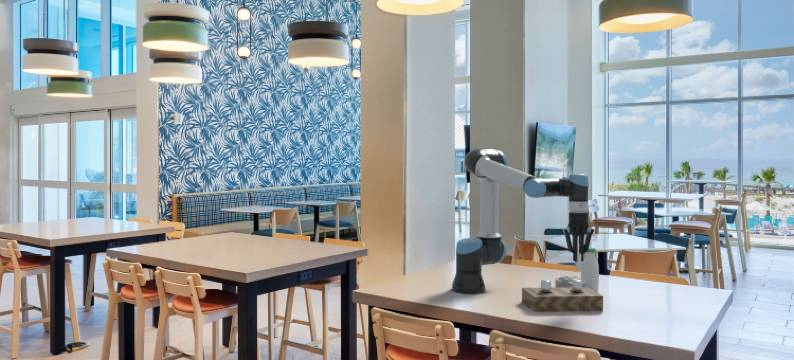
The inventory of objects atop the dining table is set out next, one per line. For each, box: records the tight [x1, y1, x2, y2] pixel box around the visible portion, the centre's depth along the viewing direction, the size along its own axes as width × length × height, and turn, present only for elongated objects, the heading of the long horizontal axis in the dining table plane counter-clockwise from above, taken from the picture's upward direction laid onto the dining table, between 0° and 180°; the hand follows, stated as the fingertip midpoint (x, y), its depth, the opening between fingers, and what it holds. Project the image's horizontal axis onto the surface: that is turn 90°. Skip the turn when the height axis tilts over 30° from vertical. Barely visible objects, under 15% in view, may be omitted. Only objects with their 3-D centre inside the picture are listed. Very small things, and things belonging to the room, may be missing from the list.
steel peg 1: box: [540, 279, 552, 293], centre depth 233 cm, size 4×4×6 cm
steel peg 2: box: [572, 280, 582, 293], centre depth 234 cm, size 4×4×6 cm
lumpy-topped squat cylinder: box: [554, 275, 587, 288], centre depth 251 cm, size 10×13×9 cm
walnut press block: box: [521, 287, 604, 313], centre depth 234 cm, size 28×16×6 cm, turn 94°
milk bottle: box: [580, 247, 600, 293], centre depth 261 cm, size 8×8×20 cm
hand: (578, 269), depth 234 cm, fingers closed
